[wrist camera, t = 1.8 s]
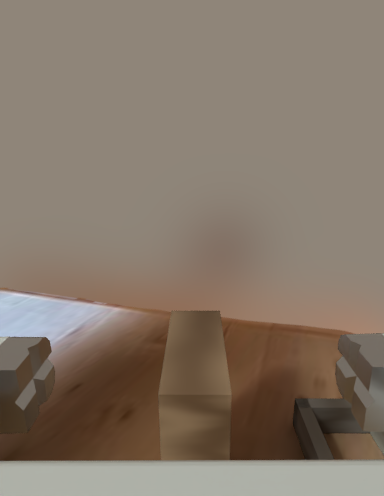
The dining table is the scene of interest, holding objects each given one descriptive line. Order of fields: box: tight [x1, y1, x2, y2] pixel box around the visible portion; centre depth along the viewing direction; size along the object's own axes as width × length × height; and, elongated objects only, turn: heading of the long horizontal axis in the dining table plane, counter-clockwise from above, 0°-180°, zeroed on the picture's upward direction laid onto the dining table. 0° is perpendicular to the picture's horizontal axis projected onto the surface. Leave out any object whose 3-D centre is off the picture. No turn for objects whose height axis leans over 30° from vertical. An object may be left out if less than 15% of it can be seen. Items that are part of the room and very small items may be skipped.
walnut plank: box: [158, 311, 232, 460], centre depth 25 cm, size 4×10×14 cm, turn 179°
